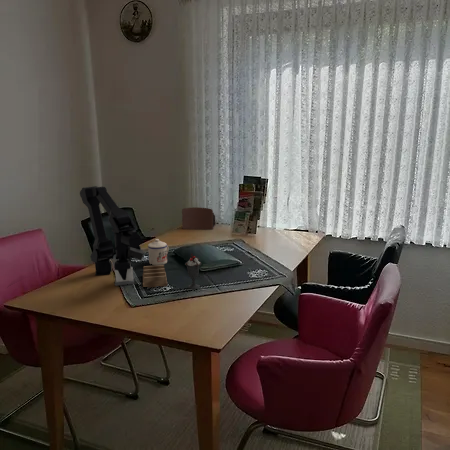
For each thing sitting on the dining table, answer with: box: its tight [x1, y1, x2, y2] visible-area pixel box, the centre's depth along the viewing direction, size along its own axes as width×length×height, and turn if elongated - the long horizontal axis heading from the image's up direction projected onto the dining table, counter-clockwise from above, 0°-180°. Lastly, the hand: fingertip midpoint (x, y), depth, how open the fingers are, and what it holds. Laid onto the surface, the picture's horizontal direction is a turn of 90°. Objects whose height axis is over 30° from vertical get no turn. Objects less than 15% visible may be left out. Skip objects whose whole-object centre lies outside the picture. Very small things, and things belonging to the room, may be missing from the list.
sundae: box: [184, 254, 202, 290], centre depth 173 cm, size 7×7×15 cm
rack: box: [142, 264, 169, 288], centre depth 182 cm, size 10×15×4 cm, turn 11°
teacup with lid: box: [147, 238, 169, 266], centre depth 206 cm, size 12×9×12 cm
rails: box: [114, 277, 136, 286], centre depth 180 cm, size 8×5×1 cm, turn 101°
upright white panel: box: [114, 266, 134, 282], centre depth 180 cm, size 7×2×6 cm, turn 101°
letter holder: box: [181, 206, 216, 231], centre depth 272 cm, size 10×20×14 cm, turn 82°
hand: (124, 278), depth 180 cm, fingers closed on upright white panel, 2 cm apart
